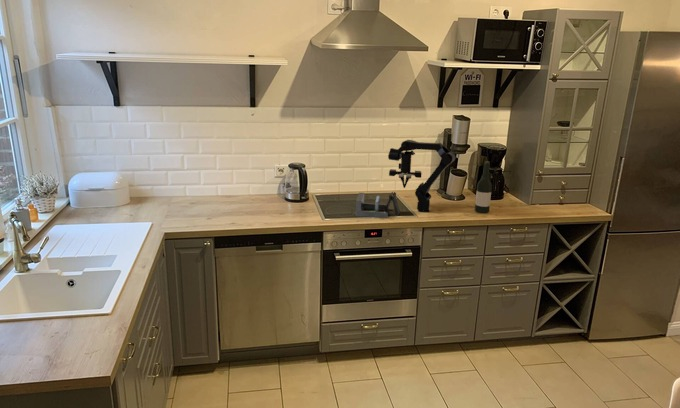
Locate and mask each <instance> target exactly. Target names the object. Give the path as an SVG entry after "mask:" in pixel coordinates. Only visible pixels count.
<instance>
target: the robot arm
mask: <svg viewBox="0 0 680 408" xmlns="http://www.w3.org/2000/svg"><path fill="white" fill-rule="evenodd" d="M415 150H421V151H422V150H424V151H436V152H437V154H438V155H439V157H440V158H441V160H440V162H439V164H438V166H437V167H436V168H435V169H434V170H433V172H432V173H431V175H430V176H429V177H428V178H427V180H426V181H425V182H421V183H420V184H419V185H418V187H417V188H415V193H414V195H415V197H416V198H417V204H416V205H417V207H416V209H417V212H421V213H429V212H430V203H431V201H430V200H431V198H432V195H431V194H430V190H431V187H432V186H433V184H434V183H435V182H436V180H437V179H438V178H439V177H440V175H441V174H442V173H443V172H444V170H445V169H446V168H447V167H448V166H450V165H451V164H452V163H454V161H455V160H456V154H455V153H454V152H453V151H450V150H449V149H448V148H447V147H446V146H445V145H444V144H443V143H442V142H423V141H422V142H419V141H416V140H413V139H406V140H403V141H402V142H401V143H400V147H399V148H393V147H391V148H390V149H389V152H388V156H387V157H388V158H387V159H388V161H389V160H391V161H397V162H398V161H400V163H398V170H399V171H398V170H397V169H394V168H393V169H392V168H391V169H390V168H389V171H388V176H389V177H395V176H396V175H398V178H399V179H400V180H401V183H402V186H403V189H405V188H406V187H407V184H408V182H409V181H410V179H412V176H414V177H415V178H416V179H417V178H419V179H420V178H422V175H423V174H422V171H421V170H414V172H413V171H411V170H412V169H411V168H412V167H411V166H412V156H414V155H416V153H415ZM405 176H406V177H405Z"/></svg>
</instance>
